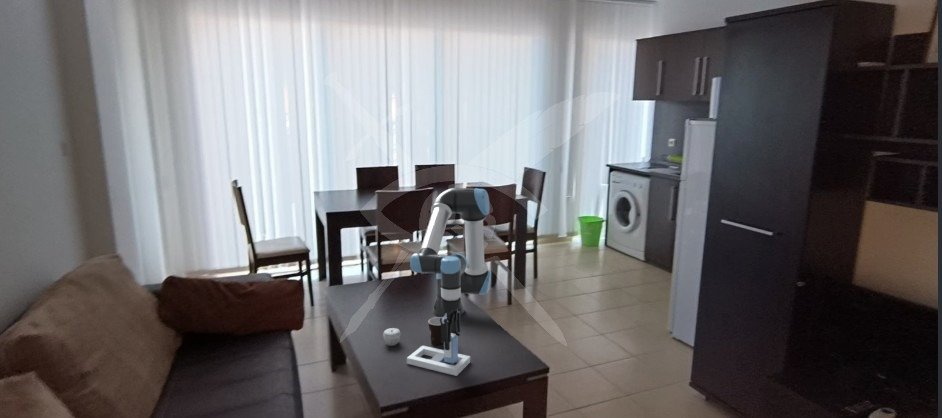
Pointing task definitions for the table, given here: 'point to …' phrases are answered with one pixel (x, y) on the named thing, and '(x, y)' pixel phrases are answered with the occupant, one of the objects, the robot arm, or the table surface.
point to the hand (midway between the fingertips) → (450, 354)
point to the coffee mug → (435, 331)
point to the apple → (392, 336)
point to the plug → (454, 349)
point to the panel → (437, 360)
